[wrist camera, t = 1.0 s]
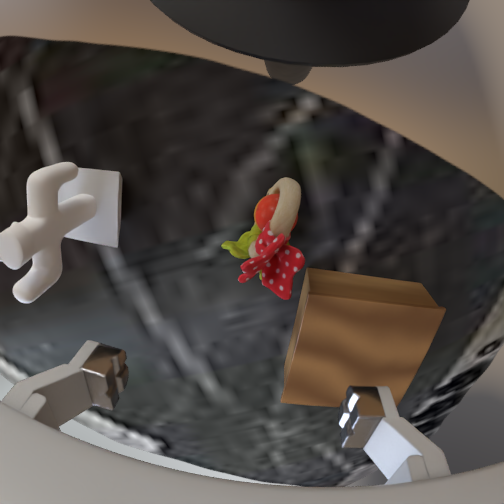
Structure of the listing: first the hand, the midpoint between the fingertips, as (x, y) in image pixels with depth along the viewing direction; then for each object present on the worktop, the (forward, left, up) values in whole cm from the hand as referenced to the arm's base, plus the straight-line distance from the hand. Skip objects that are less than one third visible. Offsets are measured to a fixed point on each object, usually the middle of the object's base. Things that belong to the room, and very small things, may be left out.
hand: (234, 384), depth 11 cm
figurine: (0, -17, -21) cm, 27 cm away
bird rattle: (0, 0, -21) cm, 21 cm away
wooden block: (+11, +11, -21) cm, 26 cm away
